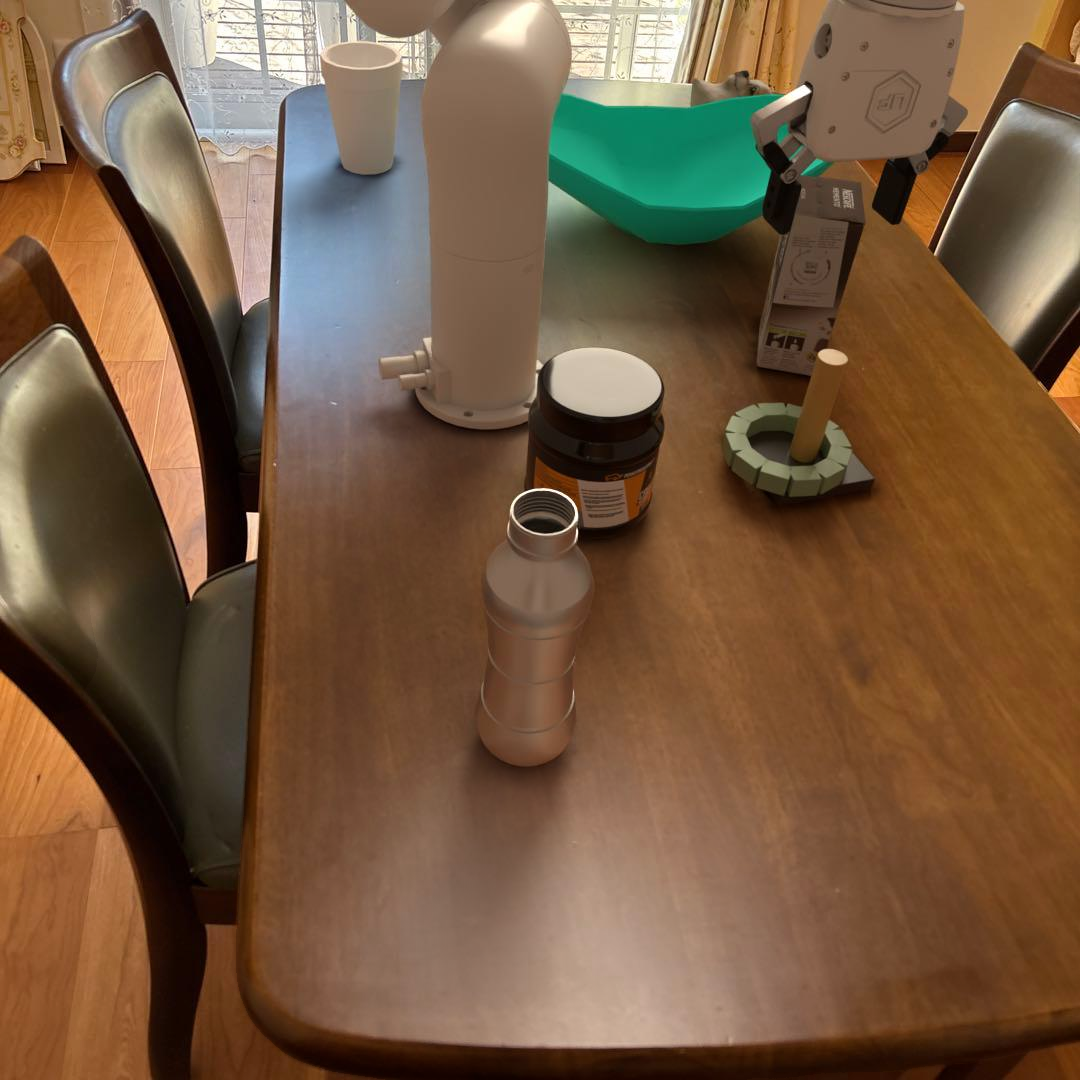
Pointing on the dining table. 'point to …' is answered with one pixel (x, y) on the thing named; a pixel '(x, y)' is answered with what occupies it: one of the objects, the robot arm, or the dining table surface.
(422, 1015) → the dining table surface
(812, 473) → the ring
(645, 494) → the supplement container
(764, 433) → the peg stand
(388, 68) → the foam cup
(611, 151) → the table top decor
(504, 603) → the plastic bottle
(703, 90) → the ceramic sculpture
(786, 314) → the coffee box
